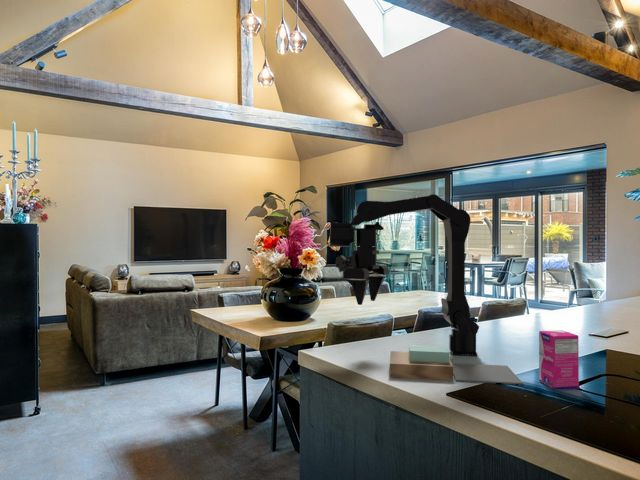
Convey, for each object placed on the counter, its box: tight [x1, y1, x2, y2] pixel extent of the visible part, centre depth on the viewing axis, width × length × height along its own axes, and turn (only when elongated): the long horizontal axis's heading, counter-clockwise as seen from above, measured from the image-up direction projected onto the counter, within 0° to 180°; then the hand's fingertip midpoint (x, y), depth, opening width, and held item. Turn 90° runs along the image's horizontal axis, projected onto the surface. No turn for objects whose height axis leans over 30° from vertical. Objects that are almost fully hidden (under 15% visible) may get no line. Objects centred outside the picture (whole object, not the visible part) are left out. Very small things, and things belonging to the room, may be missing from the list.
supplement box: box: [538, 329, 580, 390], centre depth 99 cm, size 6×6×12 cm
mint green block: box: [408, 344, 450, 363], centre depth 109 cm, size 9×6×2 cm, turn 81°
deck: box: [389, 350, 454, 381], centre depth 109 cm, size 14×12×3 cm
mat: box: [451, 362, 524, 386], centre depth 107 cm, size 14×14×1 cm
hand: (366, 302), depth 127 cm, fingers open, 9 cm apart
